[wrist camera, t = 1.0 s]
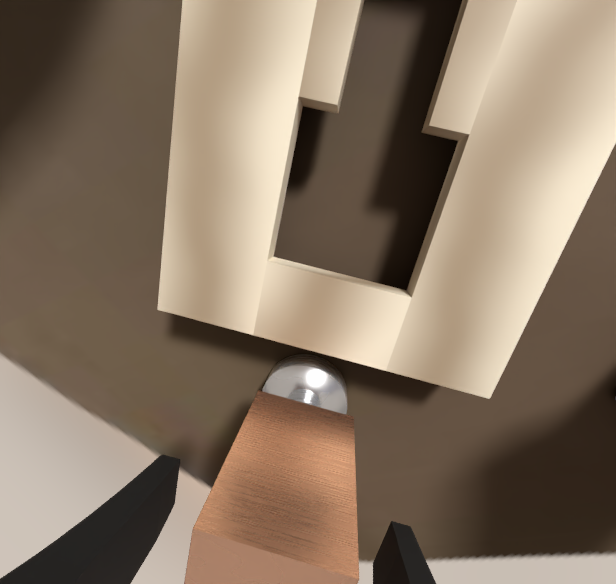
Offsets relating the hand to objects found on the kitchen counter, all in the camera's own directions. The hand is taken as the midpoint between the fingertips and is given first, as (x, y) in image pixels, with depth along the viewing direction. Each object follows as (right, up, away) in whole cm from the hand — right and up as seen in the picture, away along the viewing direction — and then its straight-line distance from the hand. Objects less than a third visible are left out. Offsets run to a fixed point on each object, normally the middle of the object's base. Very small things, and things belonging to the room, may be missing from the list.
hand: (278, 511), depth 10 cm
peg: (+1, +2, +6) cm, 7 cm away
